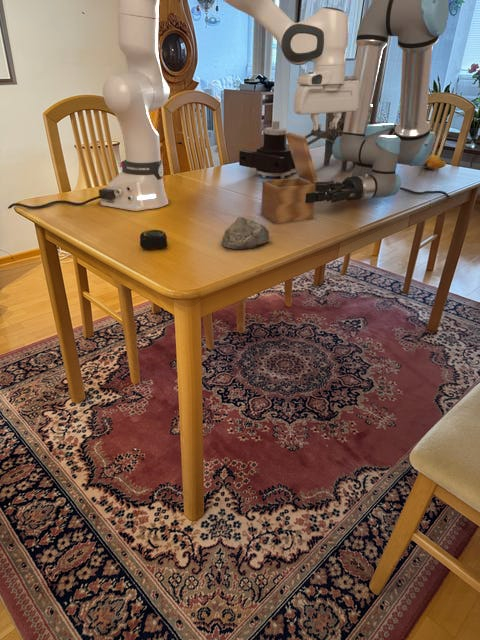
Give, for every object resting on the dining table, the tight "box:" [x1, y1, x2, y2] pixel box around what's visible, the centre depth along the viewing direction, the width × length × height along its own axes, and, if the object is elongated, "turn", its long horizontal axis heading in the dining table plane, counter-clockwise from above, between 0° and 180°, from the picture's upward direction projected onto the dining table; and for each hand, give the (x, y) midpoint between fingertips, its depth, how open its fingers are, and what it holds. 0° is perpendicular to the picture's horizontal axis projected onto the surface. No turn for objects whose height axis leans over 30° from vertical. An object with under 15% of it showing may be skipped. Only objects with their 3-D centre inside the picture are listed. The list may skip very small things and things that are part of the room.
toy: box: [421, 154, 447, 171], centre depth 211 cm, size 11×6×15 cm
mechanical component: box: [238, 120, 297, 179], centre depth 191 cm, size 22×21×30 cm
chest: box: [260, 177, 316, 224], centre depth 141 cm, size 13×10×11 cm
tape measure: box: [139, 229, 168, 250], centre depth 117 cm, size 7×7×4 cm
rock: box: [221, 216, 270, 250], centre depth 119 cm, size 13×9×6 cm, turn 131°
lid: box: [286, 128, 328, 183], centre depth 136 cm, size 14×10×9 cm
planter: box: [323, 104, 374, 172], centre depth 204 cm, size 20×20×26 cm
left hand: (324, 129), depth 135 cm, fingers open, 4 cm apart
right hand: (297, 193), depth 141 cm, fingers closed on chest, 10 cm apart
